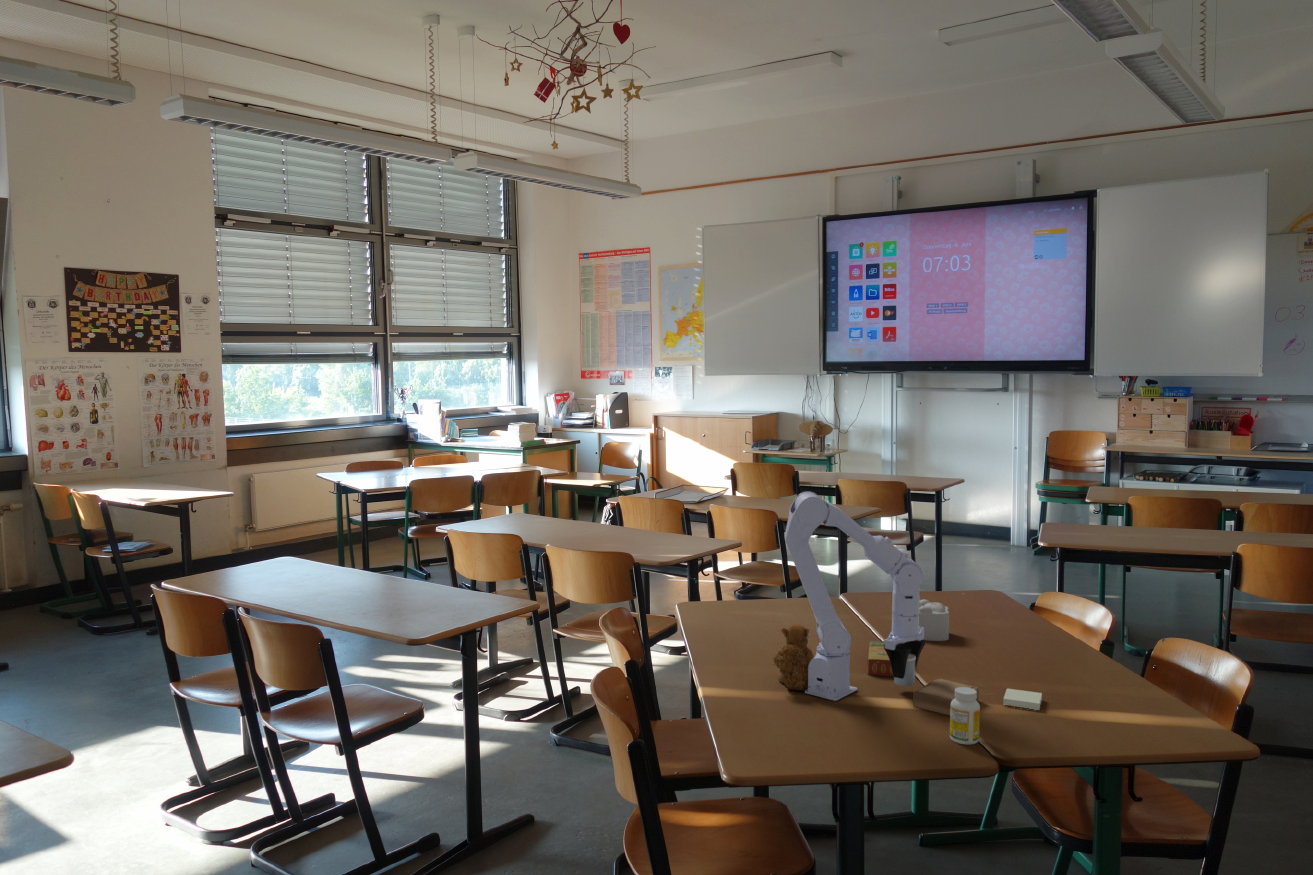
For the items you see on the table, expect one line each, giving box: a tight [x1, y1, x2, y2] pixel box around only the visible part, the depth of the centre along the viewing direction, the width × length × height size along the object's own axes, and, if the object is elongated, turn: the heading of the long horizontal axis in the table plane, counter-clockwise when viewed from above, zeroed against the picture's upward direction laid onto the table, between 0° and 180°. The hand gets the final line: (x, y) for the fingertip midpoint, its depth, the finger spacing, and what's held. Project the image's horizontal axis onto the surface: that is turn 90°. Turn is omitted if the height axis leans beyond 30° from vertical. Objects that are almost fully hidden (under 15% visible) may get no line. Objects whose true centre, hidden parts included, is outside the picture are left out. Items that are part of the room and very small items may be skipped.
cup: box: [893, 653, 916, 687], centre depth 203 cm, size 5×5×6 cm
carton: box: [867, 640, 894, 678], centre depth 222 cm, size 8×16×4 cm, turn 166°
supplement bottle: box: [949, 687, 981, 746], centre depth 177 cm, size 5×5×10 cm
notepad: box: [1002, 688, 1043, 711], centre depth 197 cm, size 7×7×2 cm
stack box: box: [912, 677, 980, 716], centre depth 196 cm, size 12×9×3 cm
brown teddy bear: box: [772, 623, 815, 692], centre depth 208 cm, size 10×14×13 cm
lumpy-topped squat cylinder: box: [919, 598, 950, 642], centre depth 247 cm, size 10×13×9 cm
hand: (904, 674), depth 204 cm, fingers closed on cup, 4 cm apart
